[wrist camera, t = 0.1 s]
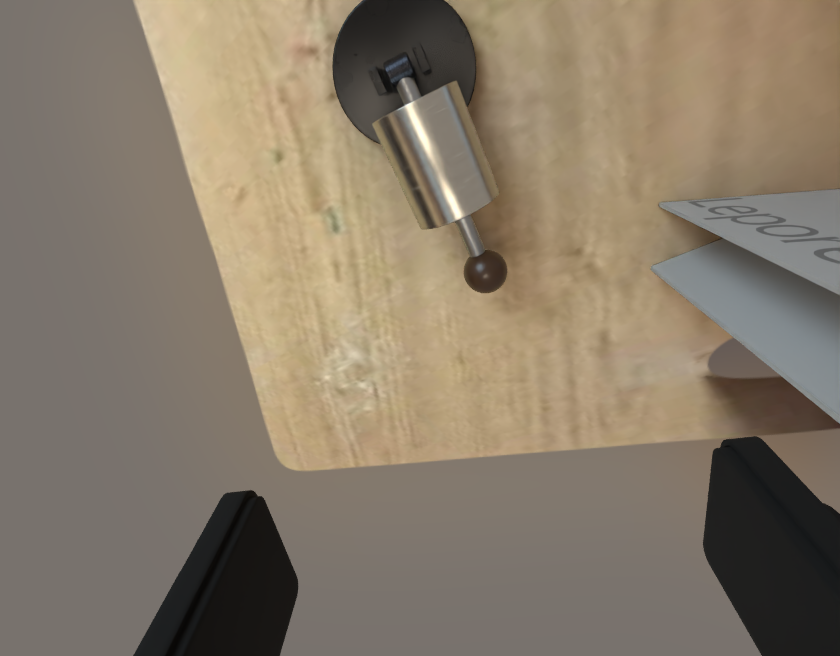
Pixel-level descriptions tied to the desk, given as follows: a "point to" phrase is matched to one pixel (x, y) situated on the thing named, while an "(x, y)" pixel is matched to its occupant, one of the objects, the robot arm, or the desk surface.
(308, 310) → the desk surface
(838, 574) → the robot arm
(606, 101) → the desk surface
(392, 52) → the holder base
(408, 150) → the knobbed metal cylinder
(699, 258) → the brochure
